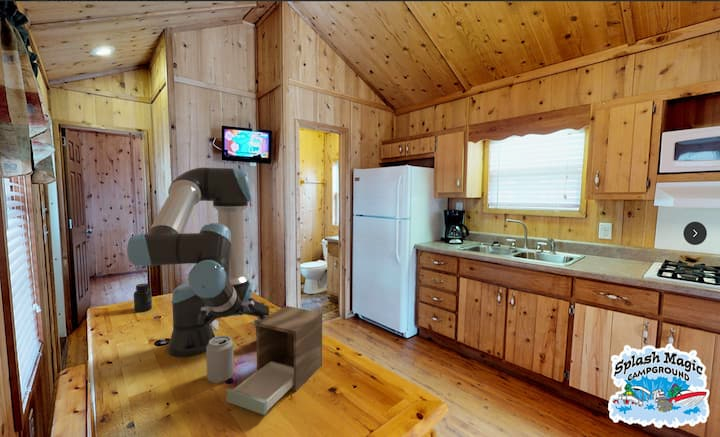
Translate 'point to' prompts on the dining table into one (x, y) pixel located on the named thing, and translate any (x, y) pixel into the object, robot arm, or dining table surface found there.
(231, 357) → the can
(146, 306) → the supplement bottle
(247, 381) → the tray
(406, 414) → the dining table surface
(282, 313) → the housing
